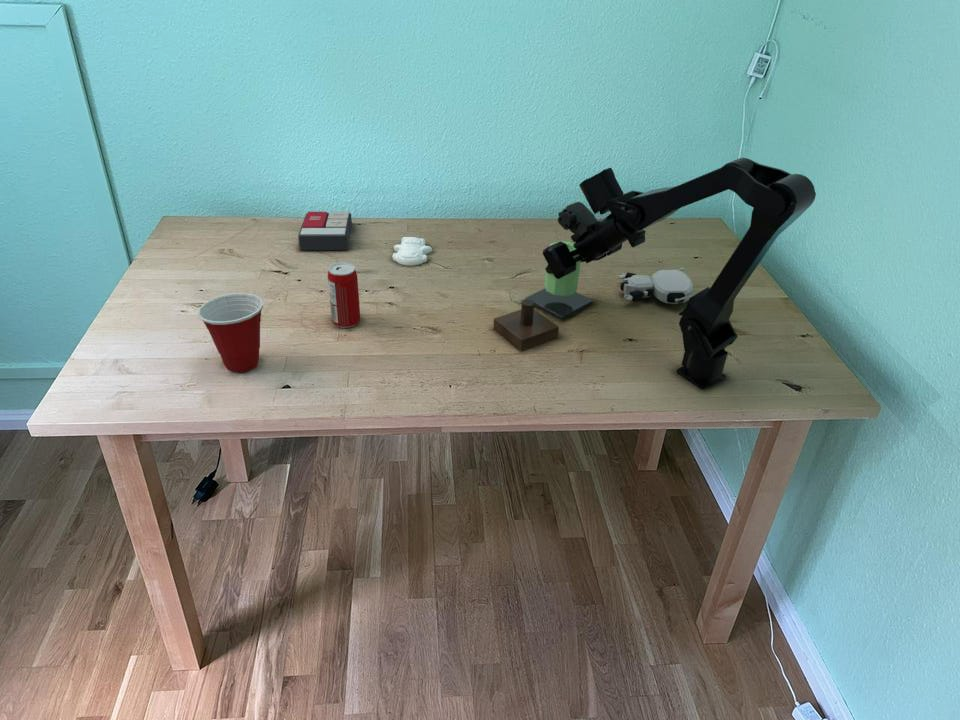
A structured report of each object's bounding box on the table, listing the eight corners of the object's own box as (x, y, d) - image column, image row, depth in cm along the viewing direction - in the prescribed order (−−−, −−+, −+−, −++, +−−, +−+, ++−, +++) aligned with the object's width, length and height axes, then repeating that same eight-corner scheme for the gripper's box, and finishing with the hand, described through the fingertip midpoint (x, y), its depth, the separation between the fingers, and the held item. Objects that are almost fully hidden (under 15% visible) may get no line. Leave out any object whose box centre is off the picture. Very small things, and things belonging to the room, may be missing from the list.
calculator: (351, 209, 174) (346, 232, 162) (352, 226, 177) (347, 250, 164) (305, 209, 173) (297, 232, 161) (307, 226, 176) (299, 250, 163)
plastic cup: (248, 339, 133) (238, 283, 126) (285, 361, 127) (276, 304, 120) (197, 364, 126) (183, 306, 119) (233, 389, 120) (221, 329, 113)
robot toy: (622, 312, 147) (695, 312, 146) (624, 293, 144) (698, 292, 144) (615, 284, 157) (684, 283, 156) (617, 266, 155) (687, 265, 154)
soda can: (366, 320, 140) (362, 265, 133) (347, 332, 136) (342, 276, 129) (345, 311, 142) (341, 257, 135) (326, 322, 138) (320, 268, 131)
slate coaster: (592, 304, 148) (593, 300, 147) (561, 321, 142) (561, 316, 141) (556, 286, 154) (557, 282, 153) (525, 301, 148) (525, 297, 147)
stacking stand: (558, 337, 137) (561, 306, 133) (521, 351, 133) (523, 319, 129) (529, 316, 143) (532, 286, 139) (493, 329, 139) (494, 298, 135)
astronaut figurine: (435, 244, 168) (435, 233, 167) (424, 267, 159) (423, 255, 157) (399, 241, 169) (399, 229, 168) (386, 263, 160) (385, 251, 158)
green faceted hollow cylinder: (558, 277, 150) (562, 238, 144) (583, 289, 146) (588, 249, 141) (538, 287, 146) (541, 247, 141) (562, 299, 142) (567, 258, 137)
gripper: (618, 183, 137) (569, 218, 149) (555, 207, 126) (507, 243, 139) (645, 234, 137) (593, 265, 149) (584, 263, 126) (533, 293, 138)
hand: (557, 265), depth 144 cm, fingers closed on green faceted hollow cylinder, 6 cm apart
